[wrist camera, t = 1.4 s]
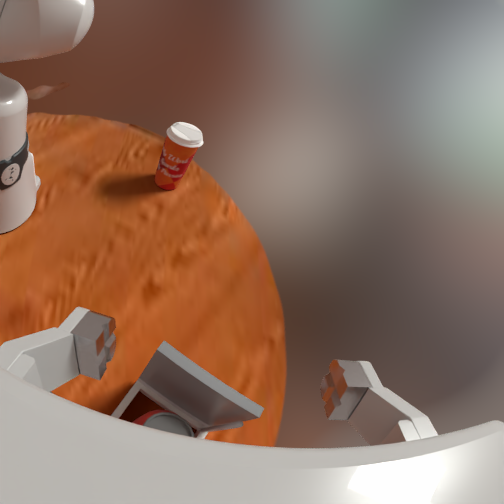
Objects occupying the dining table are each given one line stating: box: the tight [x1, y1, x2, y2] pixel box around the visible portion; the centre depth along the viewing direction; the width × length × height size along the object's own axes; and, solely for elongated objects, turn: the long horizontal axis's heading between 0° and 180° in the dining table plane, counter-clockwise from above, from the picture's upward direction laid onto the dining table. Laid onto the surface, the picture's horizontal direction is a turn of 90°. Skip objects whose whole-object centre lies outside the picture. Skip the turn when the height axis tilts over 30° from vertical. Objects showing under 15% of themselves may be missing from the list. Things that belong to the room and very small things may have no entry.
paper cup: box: [155, 122, 203, 190], centre depth 58 cm, size 8×8×14 cm
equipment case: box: [111, 341, 264, 439], centre depth 27 cm, size 12×14×16 cm
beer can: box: [132, 410, 194, 437], centre depth 28 cm, size 7×7×12 cm
